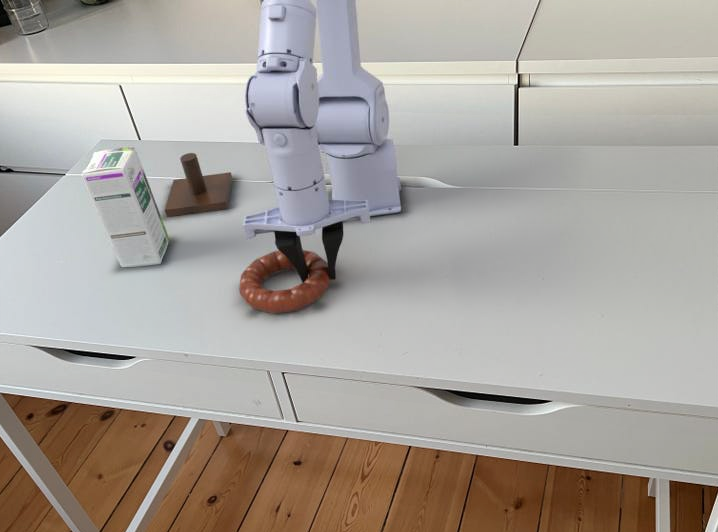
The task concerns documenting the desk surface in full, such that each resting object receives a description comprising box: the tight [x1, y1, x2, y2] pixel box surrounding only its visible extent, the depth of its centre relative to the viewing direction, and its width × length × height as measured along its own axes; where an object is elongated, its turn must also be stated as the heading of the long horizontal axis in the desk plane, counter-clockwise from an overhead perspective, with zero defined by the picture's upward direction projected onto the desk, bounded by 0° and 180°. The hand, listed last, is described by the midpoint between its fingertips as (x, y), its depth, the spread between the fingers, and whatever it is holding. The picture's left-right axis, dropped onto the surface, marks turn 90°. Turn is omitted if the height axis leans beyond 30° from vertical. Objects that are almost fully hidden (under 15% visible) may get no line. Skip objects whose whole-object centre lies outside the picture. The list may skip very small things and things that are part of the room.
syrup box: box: [80, 147, 170, 268], centre depth 101 cm, size 6×6×14 cm
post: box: [164, 152, 233, 218], centre depth 114 cm, size 9×9×7 cm
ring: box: [238, 249, 331, 314], centre depth 95 cm, size 11×11×3 cm
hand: (318, 276), depth 95 cm, fingers closed on ring, 3 cm apart
